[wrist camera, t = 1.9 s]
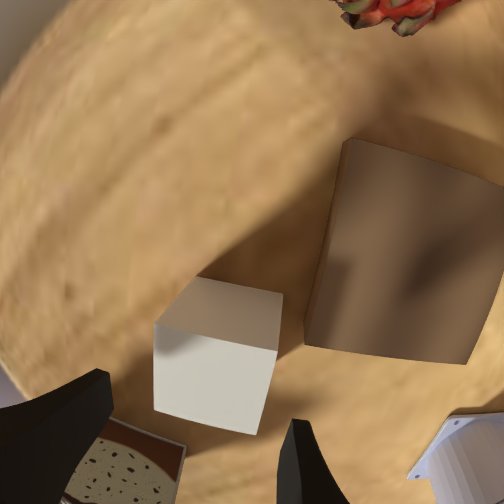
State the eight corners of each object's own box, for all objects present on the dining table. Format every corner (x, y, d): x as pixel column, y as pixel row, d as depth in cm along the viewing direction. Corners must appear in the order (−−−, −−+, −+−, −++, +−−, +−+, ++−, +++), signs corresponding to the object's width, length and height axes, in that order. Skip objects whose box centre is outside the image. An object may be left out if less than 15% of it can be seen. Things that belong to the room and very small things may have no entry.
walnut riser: (493, 189, 15) (522, 195, 12) (447, 340, 18) (466, 364, 15) (341, 143, 16) (351, 137, 13) (303, 318, 18) (304, 344, 16)
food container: (79, 438, 24) (30, 505, 15) (72, 397, 23) (9, 470, 13) (196, 485, 24) (167, 570, 14) (205, 451, 22) (171, 552, 12)
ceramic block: (283, 293, 18) (277, 351, 12) (266, 366, 19) (256, 435, 13) (195, 275, 18) (154, 323, 12) (188, 348, 20) (154, 409, 14)
